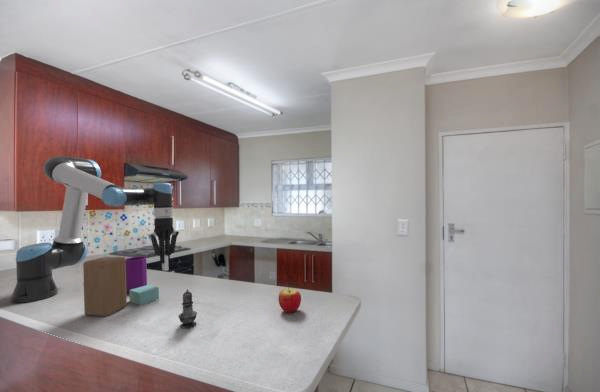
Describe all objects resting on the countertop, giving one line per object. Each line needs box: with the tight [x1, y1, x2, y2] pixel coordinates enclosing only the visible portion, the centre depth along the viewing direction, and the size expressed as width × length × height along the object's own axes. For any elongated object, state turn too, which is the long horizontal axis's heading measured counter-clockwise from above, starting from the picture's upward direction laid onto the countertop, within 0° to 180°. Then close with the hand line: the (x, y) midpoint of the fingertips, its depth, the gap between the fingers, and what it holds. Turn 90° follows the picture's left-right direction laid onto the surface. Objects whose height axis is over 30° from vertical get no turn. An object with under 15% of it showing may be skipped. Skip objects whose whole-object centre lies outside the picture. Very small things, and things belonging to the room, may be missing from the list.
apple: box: [278, 282, 302, 313], centre depth 104 cm, size 8×8×10 cm
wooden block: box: [82, 256, 128, 317], centre depth 108 cm, size 10×10×20 cm
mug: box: [125, 256, 148, 294], centre depth 134 cm, size 9×16×15 cm, turn 68°
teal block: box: [128, 284, 160, 306], centre depth 120 cm, size 8×8×5 cm
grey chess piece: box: [177, 289, 198, 330], centre depth 94 cm, size 6×6×12 cm
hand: (165, 270), depth 127 cm, fingers closed
